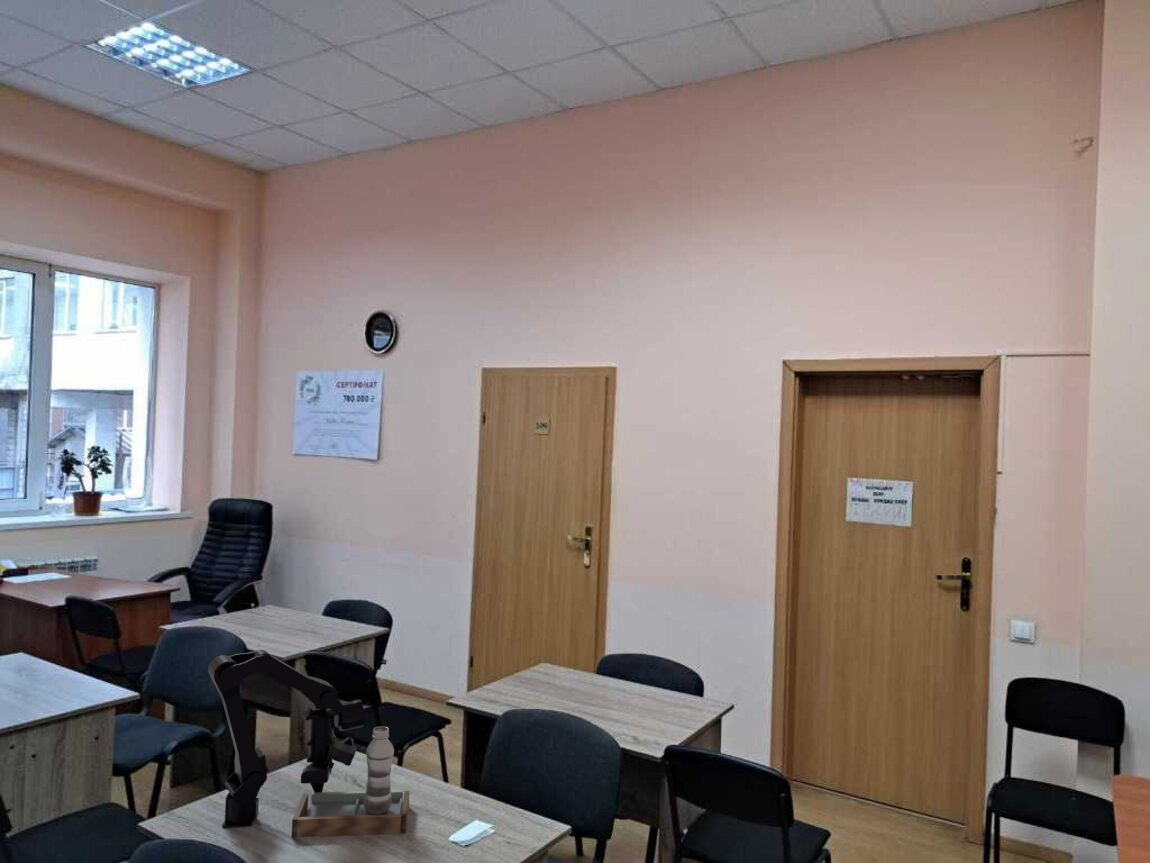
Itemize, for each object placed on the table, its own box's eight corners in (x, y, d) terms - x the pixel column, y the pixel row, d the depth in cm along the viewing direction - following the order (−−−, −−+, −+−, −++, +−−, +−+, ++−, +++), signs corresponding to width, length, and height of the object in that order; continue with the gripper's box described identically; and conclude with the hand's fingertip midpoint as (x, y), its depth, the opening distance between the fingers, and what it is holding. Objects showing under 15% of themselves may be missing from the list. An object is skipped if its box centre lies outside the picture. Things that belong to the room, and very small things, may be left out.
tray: (301, 829, 185) (302, 817, 185) (311, 803, 197) (312, 792, 197) (398, 826, 188) (399, 814, 188) (402, 801, 201) (403, 790, 201)
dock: (291, 837, 181) (292, 819, 181) (302, 810, 194) (303, 793, 194) (405, 833, 185) (406, 816, 185) (408, 807, 198) (409, 791, 198)
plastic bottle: (370, 804, 197) (374, 723, 197) (396, 808, 195) (399, 726, 195) (358, 816, 190) (361, 732, 191) (384, 820, 189) (387, 735, 189)
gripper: (350, 747, 191) (347, 813, 191) (359, 719, 209) (356, 779, 209) (301, 748, 189) (298, 814, 189) (315, 720, 208) (312, 780, 207)
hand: (318, 796), depth 199 cm, fingers closed
